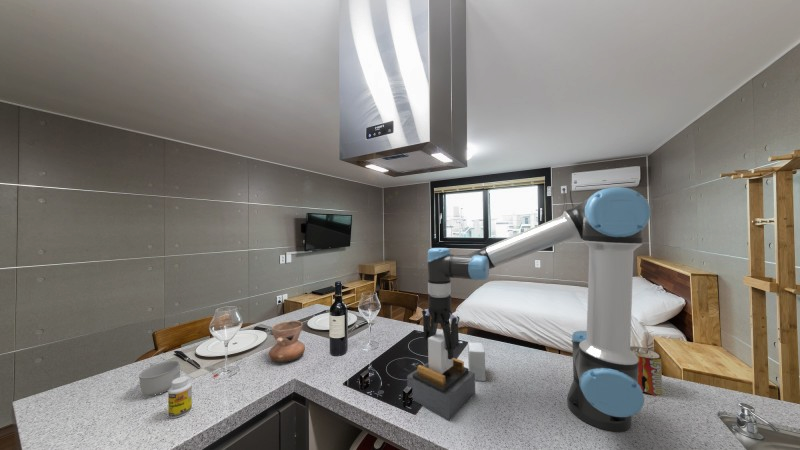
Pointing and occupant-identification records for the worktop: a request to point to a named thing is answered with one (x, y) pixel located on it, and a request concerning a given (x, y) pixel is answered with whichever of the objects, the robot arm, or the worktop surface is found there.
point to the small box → (477, 360)
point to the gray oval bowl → (159, 377)
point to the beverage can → (648, 370)
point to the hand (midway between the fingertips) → (441, 364)
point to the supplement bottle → (179, 397)
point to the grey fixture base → (442, 388)
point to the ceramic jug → (287, 341)
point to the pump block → (437, 353)
